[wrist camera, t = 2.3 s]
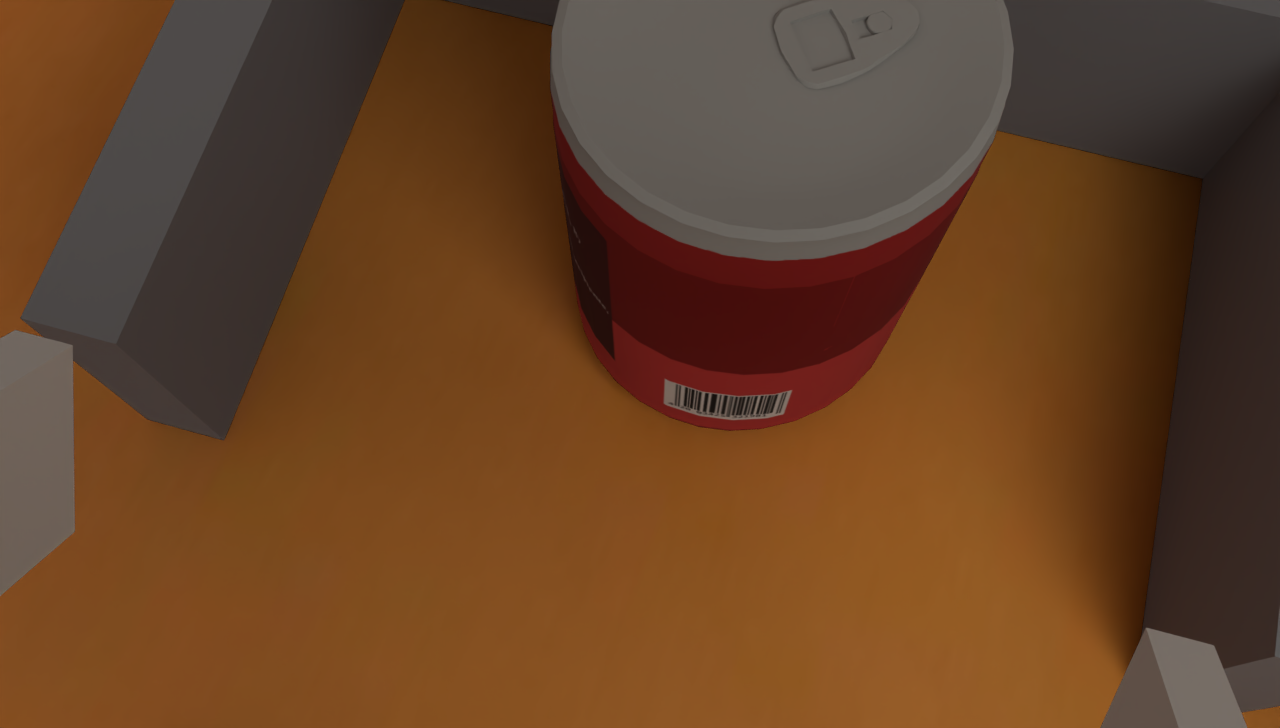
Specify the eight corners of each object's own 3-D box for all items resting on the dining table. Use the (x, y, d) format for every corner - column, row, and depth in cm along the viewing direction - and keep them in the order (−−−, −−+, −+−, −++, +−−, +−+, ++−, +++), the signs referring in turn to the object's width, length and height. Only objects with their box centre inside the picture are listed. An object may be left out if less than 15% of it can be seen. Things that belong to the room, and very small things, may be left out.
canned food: (954, 327, 31) (1114, 82, 20) (695, 506, 29) (726, 338, 19) (770, 110, 33) (830, -213, 22) (520, 265, 31) (460, -5, 21)
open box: (1286, 132, 32) (1436, -25, 26) (1223, 715, 27) (1391, 687, 21) (364, -81, 35) (306, -270, 29) (147, 419, 30) (20, 318, 24)
